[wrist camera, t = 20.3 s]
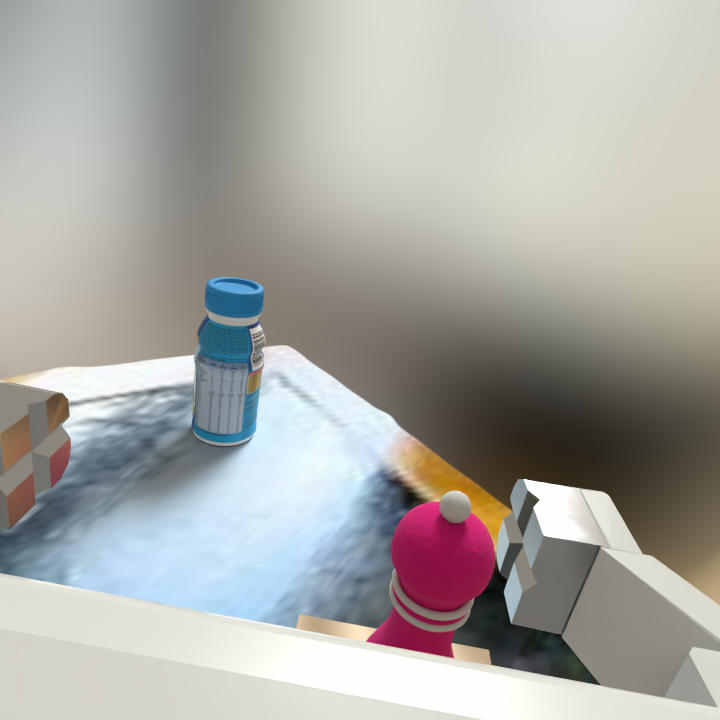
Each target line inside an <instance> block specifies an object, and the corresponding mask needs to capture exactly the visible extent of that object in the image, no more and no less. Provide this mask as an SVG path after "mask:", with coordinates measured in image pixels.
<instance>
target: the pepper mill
mask: <svg viewBox="0 0 720 720" xmlns="http://www.w3.org/2000/svg"><path fill="white" fill-rule="evenodd" d="M391 556H392V563H393V565H394V570H393V574H392V580H391V582H390V587H389V594H390V598H391V601H392V603H393V605H394V606H393V609H392V612H391V614H390V616H389V618H388V619H387V620H386V621H385V622H384V623H383V624H382V625H381V626H380V627H379V628H378V629H377V630H376V631H375V632H374V633H373V634H372V635H370V637H369V638H368V639H367V641H366V642H369V643H375V644H380V645H385V646H391V647H396V648H401V649H407V650H412V651H417V652H423V653H428V654H434V655H439V656H444V657H450V658H454V655H453V650H452V639H453V635H454V631H455V629H457V628H459V627H461V626H462V625H463V624H464V623H465V622H466V620H467V619H468V617H469V614H470V610H471V607H472V605H473V602H474V598H475V597H477V596H478V595H480V594H481V593H482V592H483V590H484V589H485V588H486V586H487V585H488V583H489V581H490V579H491V576H492V574H493V569H494V563H495V552H494V545H493V541H492V539H491V536H490V534H489V532H488V530H487V528H486V527H485V525H484V524H483V523H482V522H481V521H480V520H479V519H478V518H477V517H476V516H475V515H474V514H472V513H471V503H470V500H469V498H468V497H467V496H466V495H465V494H464V493H462V492H459V491H450V492H448V493H446V494H445V495H444V496H443V497H442V498H441V501H440V502H429V503H425V504H422V505H419V506H417V507H415V508H413V509H412V510H410V511H409V512H408V513H407V514H406V515H405V516H404V517H403V518H402V520H401V521H400V523H399V524H398V526H397V528H396V530H395V532H394V536H393V539H392V544H391Z"/></svg>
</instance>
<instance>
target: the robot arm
mask: <svg viewBox="0 0 720 720" xmlns="http://www.w3.org/2000/svg"><path fill="white" fill-rule="evenodd" d="M68 418H69V404H68V399H67V398H66V397H65V396H64V394H63V393H59V392H54V391H49V390H44V389H39V388H35V387H30V386H25V385H20V384H15V383H10V382H6V381H2V380H0V528H2V529H8V530H10V529H11V528H12V527H13V526H14V525H15V524H16V523H17V522H18V521H19V520H20V519H21V518H22V517H23V516H24V515H25V514H26V513H27V512H28V511H29V510H30V509H31V508H32V507H33V506H34V505H35V494H37V493H40V492H43V491H45V490H48V489H51V488H52V487H53V486H54V485H55V484H56V483H57V482H58V480H59V479H60V478H61V477H62V475H63V473H64V471H65V469H66V467H67V465H68V462H69V456H70V451H71V442H70V437H69V435H68V434H67V433H66V431H65V430H64V428H63V427H62V426H61V425H62V424H63V423H64V422H65V421H66V420H67V419H68ZM510 500H511V503H512V506H513V510H514V511H513V512H512V513H510V514H509V515H508V516H506V517H505V518H504V519H503V521H502V525H501V528H500V531H499V536H498V544H497V561H498V566H499V571H500V573H501V574H502V575H503V576H504V577H505V578H506V579H507V580H508V582H507V584H506V587H505V590H504V594H505V599H506V603H507V607H508V612H509V616H510V621H511V624H516V625H520V626H525V627H530V628H534V629H539V630H543V631H548V632H553V633H557V634H562V635H563V636H562V637H563V639H564V640H565V641H566V642H567V644H568V645H569V646H570V647H571V649H572V650H573V651H574V652H575V654H576V655H577V656H578V657H579V659H580V660H581V661H582V662H583V664H584V665H585V666H586V667H587V668H588V670H589V671H590V672H591V673H592V675H593V676H594V677H595V678H596V680H597V681H598V682H599V683H600V685H601V686H599V685H594V684H589V683H583V682H578V681H573V680H567V679H562V678H556V677H551V676H546V675H540V674H535V673H530V672H524V671H519V670H514V669H508V668H503V667H498V666H492V665H487V664H482V663H476V662H471V661H466V660H460V659H455V658H450V657H444V656H439V655H434V654H428V653H423V652H417V651H412V650H407V649H401V648H396V647H391V646H385V645H380V644H375V643H369V642H364V641H359V640H353V639H348V638H343V637H337V636H332V635H327V634H321V633H316V632H311V631H305V630H300V629H295V628H289V627H284V626H278V625H273V624H268V623H262V622H257V621H252V620H246V619H241V618H236V617H230V616H225V615H220V614H214V613H209V612H204V611H198V610H193V609H188V608H182V607H177V606H172V605H166V604H161V603H156V602H150V601H145V600H139V599H134V598H129V597H123V596H118V595H113V594H107V593H102V592H97V591H91V590H86V589H81V588H75V587H70V586H65V585H59V584H54V583H49V582H43V581H38V580H33V579H27V578H22V577H17V576H11V575H6V574H1V573H0V720H720V606H719V605H718V604H717V603H715V602H714V601H713V600H711V599H710V598H708V597H707V596H706V595H704V594H703V593H701V592H700V591H699V590H698V589H696V588H695V587H693V586H692V585H690V584H689V583H688V582H687V581H685V580H684V579H682V578H681V577H680V576H678V575H677V574H676V573H674V572H673V571H672V570H670V569H669V568H667V567H666V566H665V565H663V564H662V563H661V562H659V561H658V560H657V559H655V558H654V557H652V556H649V555H643V554H642V552H641V551H640V549H639V547H638V545H637V544H636V542H635V540H634V538H633V537H632V535H631V533H630V532H629V530H628V528H627V526H626V525H625V523H624V521H623V520H622V518H621V516H620V514H619V513H618V511H617V509H616V507H615V506H614V504H613V502H612V500H611V499H610V497H609V496H608V495H607V494H605V493H604V492H600V491H593V490H586V489H579V488H572V487H567V486H560V485H554V484H547V483H542V482H535V481H529V480H522V479H519V480H518V481H517V483H516V484H515V486H514V489H513V491H512V494H511V497H510Z"/></svg>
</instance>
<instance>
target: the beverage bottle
mask: <svg viewBox="0 0 720 720" xmlns="http://www.w3.org/2000/svg"><path fill="white" fill-rule="evenodd" d="M263 299H264V289H263V287H262V286H261V285H260V284H258V283H256V282H253V281H250V280H246V279H241V278H233V277H221V278H214V279H211V280H209V281H208V282H207V286H206V293H205V307H206V311H207V312H208V313H209V314H208V315H207V317H206V318H205V319H204V320H203V322H202V323H201V325H200V327H199V329H198V332H197V336H196V338H197V341H198V343H199V346H198V347H197V349H196V351H195V355H194V362H195V378H194V399H193V418H192V431H193V433H194V435H195V436H196V437H197V438H198V439H200V440H202V441H203V442H206V443H208V444H212V445H217V446H233V445H238V444H241V443H244V442H246V441H248V440H249V439H250V438H251V437H252V436H253V435H254V433H255V430H256V418H257V408H258V399H259V390H260V382H261V373H262V369H263V366H264V355H263V352H262V348H263V347H264V345H265V335H264V332H263V329H262V326H261V324H260V322H259V321H258V319H257V317H259V316H260V315H261V312H262V308H263Z"/></svg>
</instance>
